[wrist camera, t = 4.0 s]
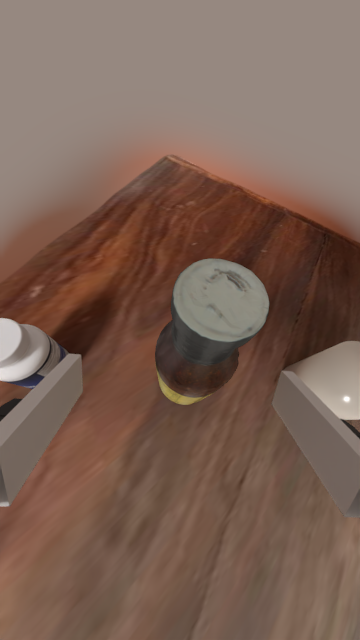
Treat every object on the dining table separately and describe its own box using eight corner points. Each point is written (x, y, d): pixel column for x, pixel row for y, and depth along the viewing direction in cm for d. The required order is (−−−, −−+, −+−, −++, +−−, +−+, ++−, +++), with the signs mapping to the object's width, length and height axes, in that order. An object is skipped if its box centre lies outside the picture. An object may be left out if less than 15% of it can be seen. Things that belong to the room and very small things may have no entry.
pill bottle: (15, 384, 24) (-65, 363, 15) (40, 342, 27) (-17, 303, 18) (60, 396, 24) (5, 382, 15) (81, 353, 26) (43, 319, 18)
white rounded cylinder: (289, 354, 29) (338, 327, 21) (337, 383, 28) (409, 367, 20) (270, 398, 26) (320, 387, 18) (323, 432, 25) (401, 437, 17)
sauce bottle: (199, 350, 28) (271, 228, 10) (213, 398, 26) (342, 345, 8) (151, 361, 27) (139, 242, 9) (161, 413, 24) (173, 388, 7)
